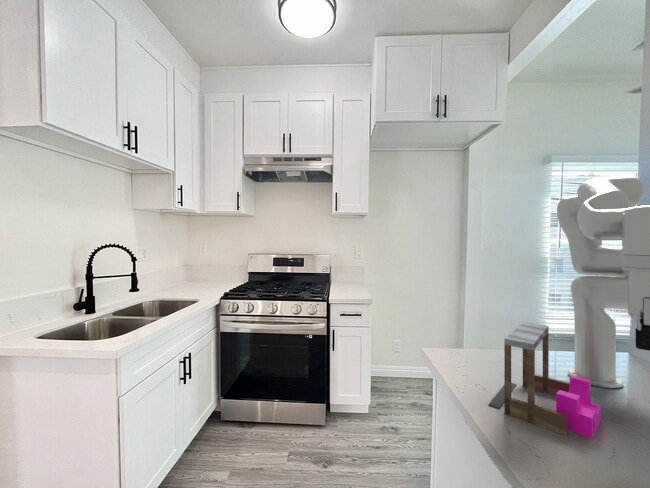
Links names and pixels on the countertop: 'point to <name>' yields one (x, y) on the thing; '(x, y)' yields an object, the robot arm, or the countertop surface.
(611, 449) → the countertop surface
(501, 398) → the dark grey flat bar
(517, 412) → the tunnel
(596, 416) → the toy block
